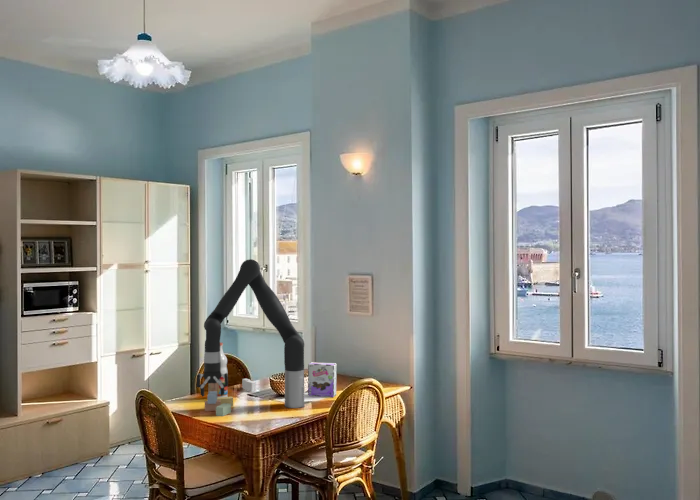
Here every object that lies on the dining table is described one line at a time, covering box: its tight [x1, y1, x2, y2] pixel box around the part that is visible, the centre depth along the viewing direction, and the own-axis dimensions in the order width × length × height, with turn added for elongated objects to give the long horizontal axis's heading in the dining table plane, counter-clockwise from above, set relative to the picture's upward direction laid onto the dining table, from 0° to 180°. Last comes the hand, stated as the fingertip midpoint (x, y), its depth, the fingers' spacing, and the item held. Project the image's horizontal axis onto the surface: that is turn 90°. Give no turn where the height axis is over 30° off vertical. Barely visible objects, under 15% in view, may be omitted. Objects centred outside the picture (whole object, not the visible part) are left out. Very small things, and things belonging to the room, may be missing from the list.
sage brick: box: [215, 403, 232, 417], centre depth 280 cm, size 7×4×4 cm, turn 162°
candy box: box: [307, 361, 338, 398], centre depth 315 cm, size 14×6×16 cm, turn 76°
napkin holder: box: [241, 378, 257, 393], centre depth 328 cm, size 15×11×6 cm
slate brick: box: [207, 391, 217, 404], centre depth 287 cm, size 7×4×4 cm, turn 6°
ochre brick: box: [217, 396, 234, 407], centre depth 294 cm, size 7×4×4 cm, turn 110°
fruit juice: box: [207, 341, 229, 398], centre depth 307 cm, size 9×9×28 cm
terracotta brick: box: [204, 400, 221, 412], centre depth 287 cm, size 7×4×4 cm, turn 103°
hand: (212, 395), depth 287 cm, fingers open, 8 cm apart
